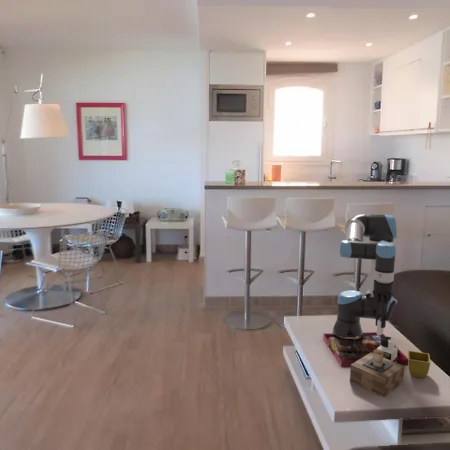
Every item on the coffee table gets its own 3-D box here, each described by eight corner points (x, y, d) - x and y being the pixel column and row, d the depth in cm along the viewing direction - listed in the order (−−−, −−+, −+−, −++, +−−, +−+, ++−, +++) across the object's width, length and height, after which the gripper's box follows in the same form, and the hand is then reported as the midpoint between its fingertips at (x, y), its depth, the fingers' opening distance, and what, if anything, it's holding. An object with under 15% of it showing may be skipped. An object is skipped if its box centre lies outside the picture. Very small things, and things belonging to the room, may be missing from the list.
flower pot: (406, 377, 200) (408, 359, 198) (406, 368, 208) (408, 350, 206) (428, 381, 197) (430, 362, 195) (427, 371, 205) (429, 353, 203)
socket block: (369, 368, 208) (370, 351, 206) (402, 382, 196) (404, 365, 195) (349, 381, 198) (350, 363, 196) (383, 397, 186) (385, 378, 184)
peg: (375, 365, 198) (376, 348, 197) (384, 368, 195) (385, 351, 194) (370, 368, 196) (371, 351, 194) (379, 372, 193) (380, 354, 191)
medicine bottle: (375, 362, 213) (377, 338, 211) (382, 356, 219) (383, 333, 216) (390, 367, 209) (392, 343, 206) (396, 361, 214) (398, 338, 211)
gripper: (364, 278, 189) (361, 331, 194) (393, 286, 180) (389, 341, 185) (374, 274, 194) (370, 326, 199) (403, 282, 185) (398, 336, 190)
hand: (379, 333), depth 192 cm, fingers closed
